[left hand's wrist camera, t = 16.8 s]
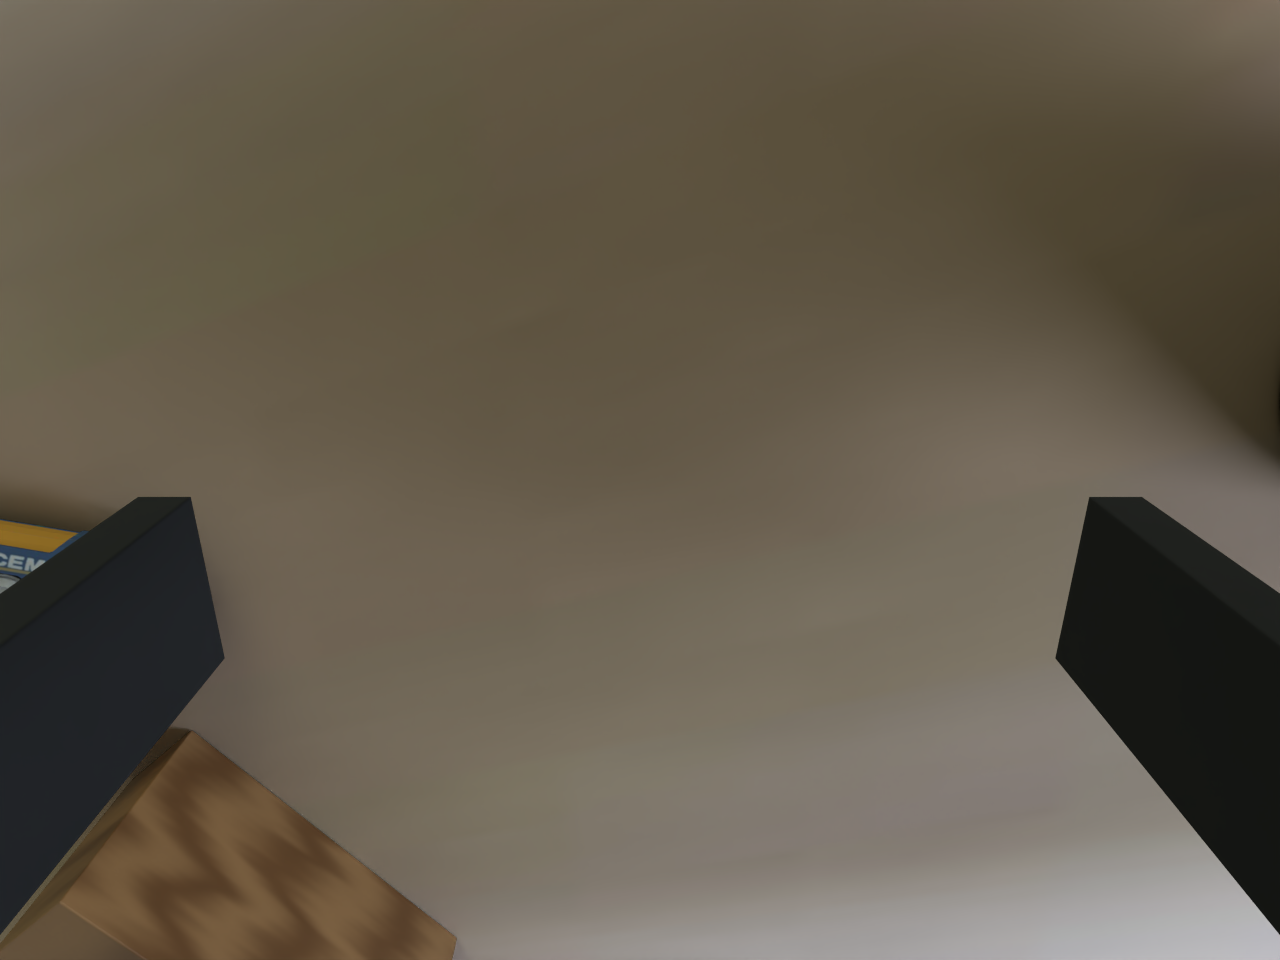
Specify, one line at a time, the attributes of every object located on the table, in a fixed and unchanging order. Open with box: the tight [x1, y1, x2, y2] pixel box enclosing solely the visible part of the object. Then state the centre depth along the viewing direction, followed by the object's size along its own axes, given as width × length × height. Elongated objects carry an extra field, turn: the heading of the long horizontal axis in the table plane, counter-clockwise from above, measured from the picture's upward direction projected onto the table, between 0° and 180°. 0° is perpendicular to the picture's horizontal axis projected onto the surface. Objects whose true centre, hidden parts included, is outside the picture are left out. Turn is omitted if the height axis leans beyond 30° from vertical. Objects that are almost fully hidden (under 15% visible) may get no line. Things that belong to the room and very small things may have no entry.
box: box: [0, 731, 457, 960], centre depth 48 cm, size 22×6×12 cm, turn 41°
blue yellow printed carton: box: [0, 519, 89, 593], centre depth 45 cm, size 21×4×15 cm
